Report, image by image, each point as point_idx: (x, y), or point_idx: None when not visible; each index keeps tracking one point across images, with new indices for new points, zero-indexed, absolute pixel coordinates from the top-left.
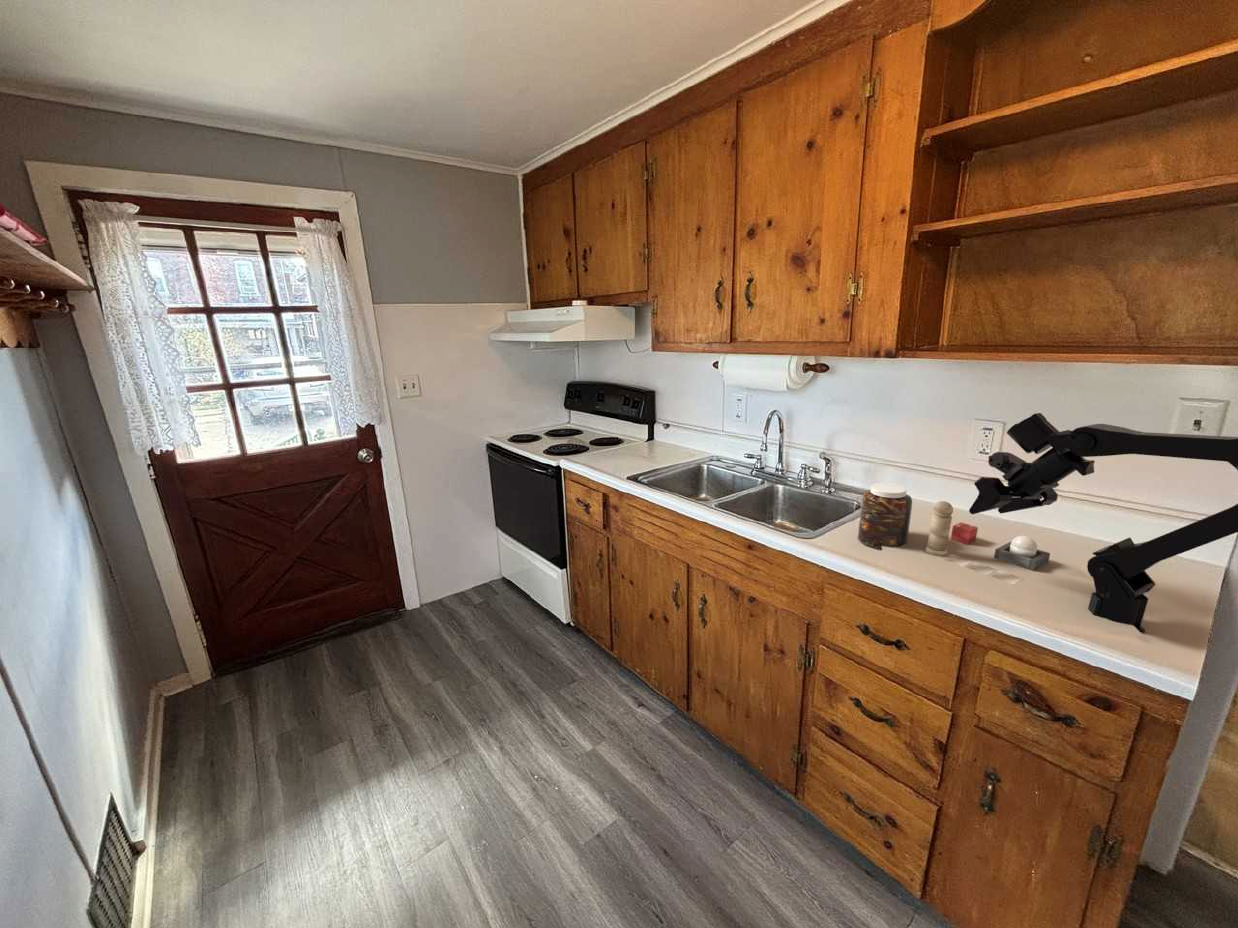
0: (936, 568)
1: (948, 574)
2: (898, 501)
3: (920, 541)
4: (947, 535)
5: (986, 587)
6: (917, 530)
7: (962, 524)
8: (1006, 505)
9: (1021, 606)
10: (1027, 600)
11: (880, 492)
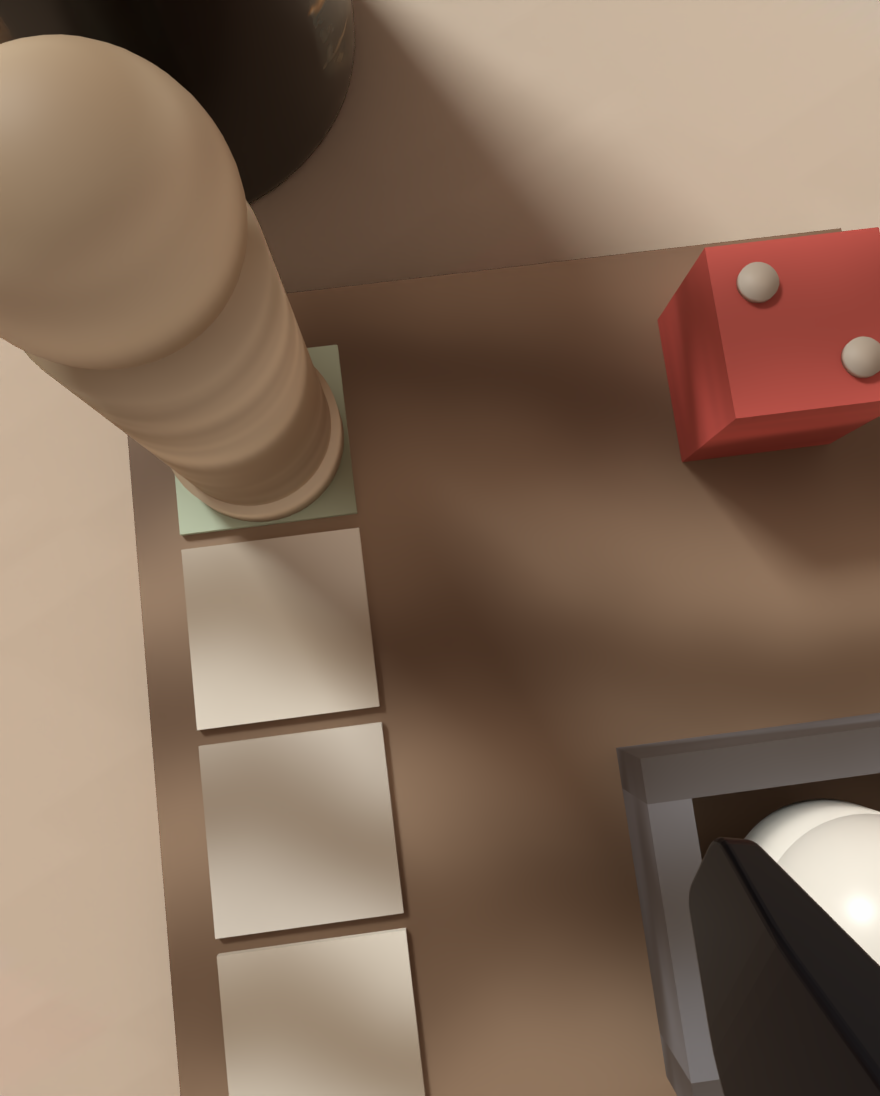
0: (65, 596)
1: (45, 713)
2: None
3: (455, 195)
4: (204, 468)
5: (88, 1007)
6: (653, 35)
7: (833, 272)
8: (804, 1061)
9: None
10: None
11: None
